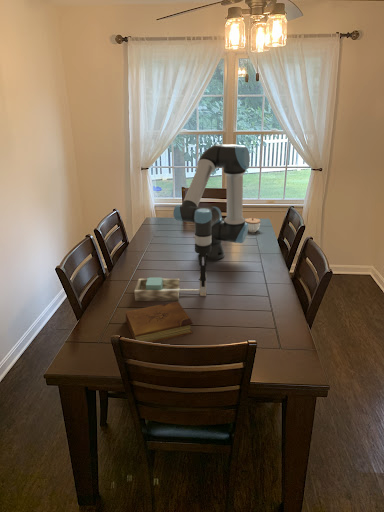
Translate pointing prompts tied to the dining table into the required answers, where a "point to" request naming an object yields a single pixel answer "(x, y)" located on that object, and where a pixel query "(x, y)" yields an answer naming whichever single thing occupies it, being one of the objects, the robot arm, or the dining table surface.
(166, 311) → the diary
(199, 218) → the robot arm
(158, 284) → the block sled
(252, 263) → the dining table surface
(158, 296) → the lane
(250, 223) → the lidded jar
